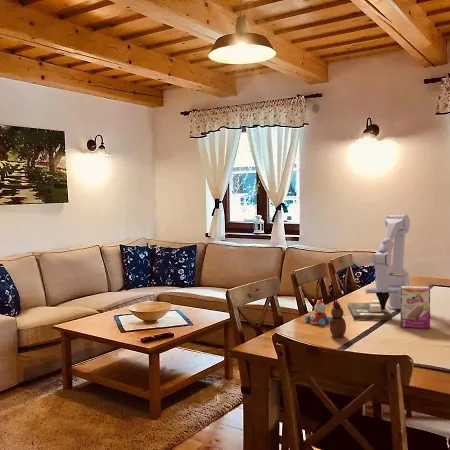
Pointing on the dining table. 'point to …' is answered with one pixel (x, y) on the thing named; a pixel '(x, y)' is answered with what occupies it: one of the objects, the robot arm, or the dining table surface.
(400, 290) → the robot arm
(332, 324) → the wooden figurine
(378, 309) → the tab
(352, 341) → the dining table surface
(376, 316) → the switch panel
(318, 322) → the toy car
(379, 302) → the tab
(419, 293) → the candy bar box
